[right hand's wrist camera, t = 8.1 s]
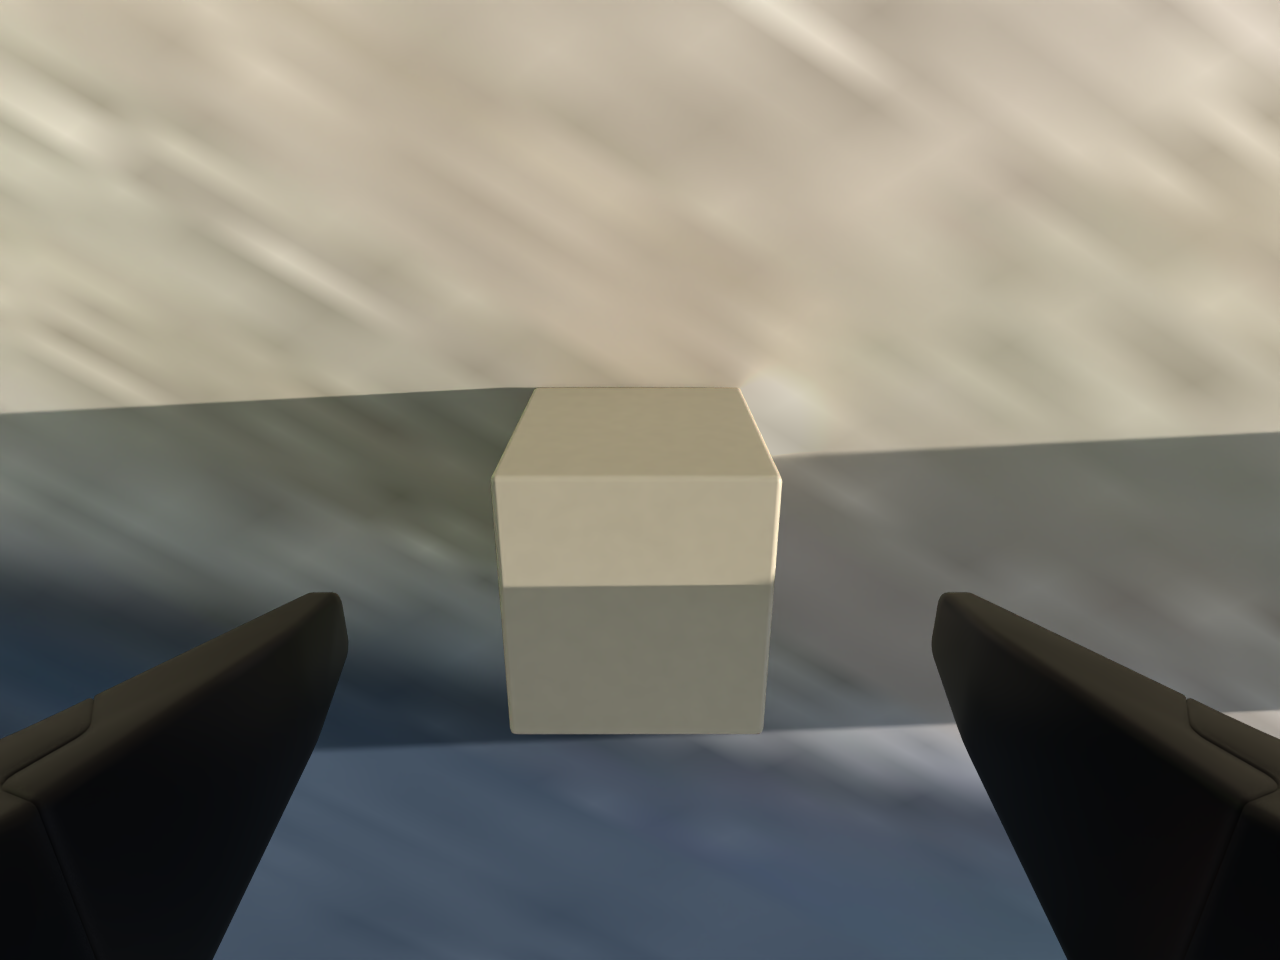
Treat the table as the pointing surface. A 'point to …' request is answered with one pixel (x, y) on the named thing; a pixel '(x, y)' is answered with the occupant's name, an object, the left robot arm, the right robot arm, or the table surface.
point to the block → (636, 562)
